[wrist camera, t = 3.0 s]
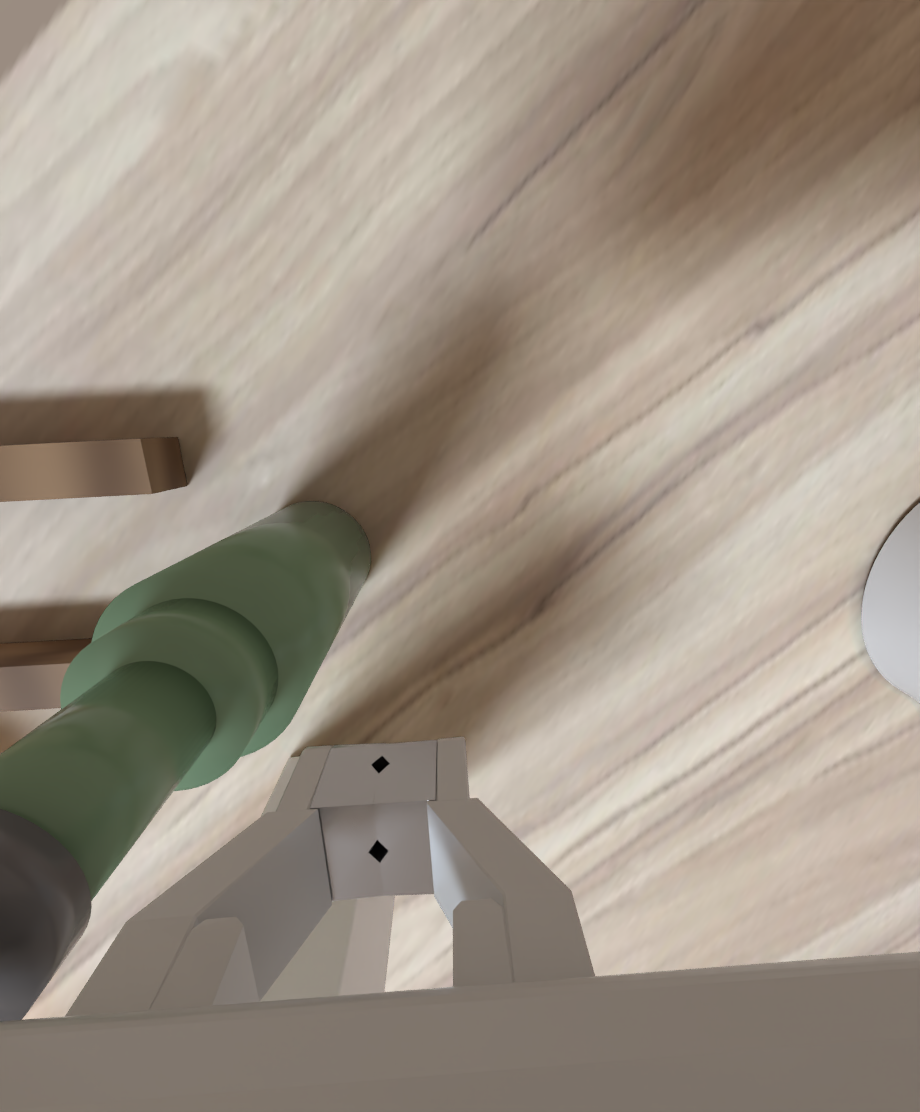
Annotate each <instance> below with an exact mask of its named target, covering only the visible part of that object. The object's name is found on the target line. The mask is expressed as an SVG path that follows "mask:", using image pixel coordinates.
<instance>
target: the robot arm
mask: <svg viewBox="0 0 920 1112" xmlns="http://www.w3.org/2000/svg"><path fill="white" fill-rule="evenodd" d="M861 622H862V632H863V638H864V642H865V646H866V649H867V651H868V654H869V656H870V658H871V660H872V662H873V663H874V665H875V667H876V668H877V670H878V671H879V672H880V673H881V675H882V676H883V677H884V678H885V679H886V680H887V681H888V682H890V683H891V684H892V685H893V686H895V687H896V688H897V689H899V690H901V691H902V692H904V693H906V694H907V695H909V696H911V697H912V698H914V699H915V700H916V701H918V702H919V703H920V503H919V504H918V505H916V506H915V507H914V508H913V509H912V510H911V511H910V512H909V513H908V514H907V515H906V516H905V517H904V519H903V520H902V521H901V522H900V523H899V524H898V526H897V527H896V528H895V530H894V531H893V532H892V533H891V535H890V536H889V538H888V539H887V541H886V542H885V544H884V545H883V547H882V549H881V551H880V552H879V554H878V556H877V558H876V560H875V562H874V564H873V567H872V569H871V572H870V574H869V577H868V580H867V584H866V587H865V591H864V596H863V602H862V613H861ZM417 894H434V897H435V898H436V900H437V902H438V904H439V905H440V907H441V909H442V911H443V912H444V914H445V916H446V917H447V919H448V921H449V923H450V924H451V926H452V928H453V987H447V988H434V989H421V990H407V991H394V992H381V993H368V994H355V995H342V996H329V997H316V998H302V999H289V1000H276V1001H263V1002H260V1001H261V999H262V998H263V997H264V995H265V994H266V993H267V991H268V990H269V989H270V987H271V986H272V985H273V983H274V982H275V980H276V979H277V978H278V976H279V975H280V974H281V972H282V971H283V970H284V968H285V967H286V966H287V964H288V963H289V962H290V960H291V959H292V958H293V956H294V955H295V954H296V952H297V951H298V950H299V948H300V947H301V946H302V944H303V943H304V942H305V940H306V939H307V938H308V936H309V935H310V934H311V932H312V931H313V930H314V928H315V927H316V926H317V924H318V923H319V922H320V920H321V919H322V917H323V916H324V915H325V913H326V912H327V911H328V909H329V908H330V907H331V905H332V901H338V900H348V899H358V898H367V897H377V896H393V895H417ZM0 1112H920V952H909V953H896V954H882V955H869V956H856V957H843V958H830V959H817V960H804V961H790V962H777V963H764V964H751V965H738V966H725V967H711V968H698V969H685V970H672V971H659V972H646V973H634V974H621V975H608V976H595V974H594V970H593V967H592V963H591V960H590V956H589V952H588V949H587V945H586V942H585V938H584V935H583V931H582V927H581V924H580V920H579V917H578V913H577V909H576V906H575V902H574V899H573V895H572V892H571V890H570V889H569V888H568V887H567V886H566V885H565V884H564V883H563V882H562V881H561V880H560V879H559V878H558V877H557V876H556V875H555V874H554V873H553V872H552V871H551V870H550V869H549V868H548V867H547V866H546V865H545V864H544V863H543V862H542V861H541V860H540V859H539V858H538V857H537V856H536V855H535V854H534V853H533V852H532V851H531V850H530V849H529V848H528V847H527V846H526V845H525V844H524V843H522V842H521V841H520V840H519V839H518V838H517V837H516V836H515V835H514V834H513V833H512V832H511V831H510V830H509V829H508V828H507V827H506V826H505V825H504V824H503V823H502V822H501V821H500V820H499V819H498V818H497V817H496V816H495V815H494V814H493V813H492V812H491V811H490V810H489V809H488V808H487V807H486V806H485V805H484V804H483V803H482V802H481V801H480V800H479V799H478V798H469V784H468V771H467V757H466V744H465V738H464V737H463V736H462V737H452V738H442V739H438V740H426V741H413V742H400V743H387V744H386V743H374V744H350V745H334V746H331V745H329V746H313V747H307V748H305V749H304V750H303V751H302V753H301V755H300V757H299V760H298V762H297V764H296V766H295V769H294V771H293V773H292V775H291V778H290V780H289V782H288V784H287V787H286V789H285V791H284V793H283V796H282V798H281V800H280V803H279V805H278V807H277V809H276V812H267V813H266V814H264V815H263V816H262V817H260V818H259V819H258V820H257V821H255V822H254V823H253V824H251V825H250V826H249V827H248V828H246V829H245V830H244V831H242V832H241V833H240V834H239V835H237V836H236V837H235V838H233V839H232V840H231V841H230V842H228V843H227V844H226V845H224V846H223V847H222V848H220V849H219V850H218V851H217V852H215V853H214V854H213V855H211V856H210V857H209V858H208V859H206V860H205V861H204V862H202V863H201V864H200V865H199V866H197V867H196V868H195V869H193V870H192V871H191V872H190V873H188V874H187V875H186V876H184V877H183V878H182V879H181V880H179V881H178V882H177V883H175V884H174V885H173V886H172V887H170V888H169V889H168V890H166V891H165V892H164V893H163V894H161V895H160V896H159V897H157V898H156V899H155V900H154V901H152V902H151V903H150V904H148V905H147V906H146V907H145V908H143V909H142V910H141V911H139V912H138V913H137V914H136V915H134V916H133V917H132V918H130V919H129V920H128V921H127V922H126V923H125V925H124V926H123V928H122V929H121V931H120V932H119V934H118V935H117V937H116V938H115V940H114V942H113V943H112V945H111V946H110V948H109V949H108V951H107V952H106V954H105V955H104V957H103V958H102V960H101V962H100V963H99V965H98V966H97V968H96V969H95V971H94V972H93V974H92V975H91V977H90V979H89V980H88V982H87V983H86V985H85V986H84V988H83V989H82V991H81V992H80V994H79V996H78V997H77V999H76V1000H75V1002H74V1003H73V1005H72V1006H71V1008H70V1009H69V1011H68V1013H67V1014H66V1016H65V1017H53V1018H40V1019H27V1020H14V1021H0Z"/></svg>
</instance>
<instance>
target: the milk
mask: <svg viewBox="0 0 920 1112" xmlns="http://www.w3.org/2000/svg"><path fill="white" fill-rule="evenodd" d="M299 757H300V756H298V757H291V758H289V759H288V761H287V763H286V765H285V767H284V769H283V771H282V773H281V775H280V778H279V780H278V782H277V784H276V786H275V788H274V790H273V792H272V794H271V796H270V799H269V801H268V803H267V805H266V807H265V809H264V811H263V813H262V815H261V817H262V816H263V815H264V814H266V813H267V812H276V809H277V807H278V805H279V803H280V800H281V798H282V796H283V793H284V791H285V789H286V787H287V784H288V782H289V780H290V778H291V775H292V773H293V771H294V769H295V766H296V764H297V762H298V760H299ZM394 900H395V895H393V896H377V897H367V898H358V899H348V900H338V901H332V905H331V907H330V908H329V909H328V911H327V912H326V913H325V915H324V916H323V917H322V919H321V920H320V922H319V923H318V924H317V926H316V927H315V928H314V930H313V931H312V932H311V934H310V935H309V936H308V938H307V939H306V940H305V942H304V943H303V944H302V946H301V947H300V948H299V950H298V951H297V952H296V954H295V955H294V956H293V958H292V959H291V960H290V962H289V963H288V964H287V966H286V967H285V968H284V970H283V971H282V972H281V974H280V975H279V976H278V978H277V979H276V980H275V982H274V983H273V985H272V986H271V987H270V989H269V990H268V991H267V993H266V994H265V995H264V997H263V998H262V999H261V1001H260V1002H263V1001H276V1000H289V999H302V998H316V997H329V996H342V995H355V994H368V993H381V992H384V991H385V981H386V972H387V963H388V954H389V945H390V936H391V927H392V918H393V909H394Z"/></svg>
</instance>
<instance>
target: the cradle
mask: <svg viewBox="0 0 920 1112" xmlns="http://www.w3.org/2000/svg"><path fill="white" fill-rule="evenodd" d="M185 486H187V482H186V477H185V472H184V467H183V462H182V457H181V451H180V446H179V441H178V437H170V438H142V439H122V440H103V441H83V442H64V443H44V444H25V445H5V446H0V502H7V501H26V500H44V499H63V498H82V497H101V496H120V495H139V494H153V493H158V492H162V491H167V490H171V489H176V488H180V487H185ZM91 641H92V639H74V640H56V641H39V642H21V643H4V644H0V712H1V711H18V710H35V709H52V708H61V702H60V694H61V686H62V682H63V678H64V675H65V673H66V671H67V668H68V667H69V665H70V664H71V662H72V661H73V659H74V658H75V657H76V656H77V655H78V653H79V652H80V651H81V650H83V649H84V648H85V647H86V646H88V645H89V644H90V643H91Z"/></svg>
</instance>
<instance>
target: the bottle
mask: <svg viewBox="0 0 920 1112" xmlns="http://www.w3.org/2000/svg"><path fill="white" fill-rule="evenodd" d="M370 563H371V551H370V545H369V542H368V539H367V537H366V535H365V532H364V531H363V529H362V528H361V526H360V525H359V524H358V522H357V521H356V520H355V519H354V518H353V517H352V516H351V515H349V514H348V513H347V512H345V511H344V510H342V509H340V508H339V507H336V506H334V505H332V504H328V503H325V502H318V501H305V502H299V503H295V504H293V505H290V506H288V507H286V508H284V509H282V510H280V511H278V512H276V513H274V514H272V515H270V516H268V517H266V518H264V519H262V520H260V521H258V522H256V523H254V524H252V525H250V526H248V527H247V528H245V529H243V530H241V531H239V532H237V533H235V534H233V535H231V536H229V537H227V538H225V539H223V540H221V541H219V542H217V543H215V544H213V545H211V546H209V547H207V548H205V549H203V550H201V551H199V552H197V553H195V554H194V555H192V556H190V557H188V558H186V559H184V560H182V561H180V562H178V563H176V564H174V565H172V566H170V567H168V568H166V569H164V570H162V571H160V572H158V573H156V574H154V575H152V576H150V577H148V578H146V579H144V580H142V581H141V582H139V583H137V584H135V585H133V586H131V587H130V588H128V589H126V590H125V591H123V592H122V593H121V594H120V595H118V596H117V597H116V598H115V599H114V600H113V601H112V602H111V603H110V604H109V605H108V607H107V608H106V609H105V611H104V612H103V614H102V615H101V617H100V618H99V621H98V623H97V625H96V627H95V630H94V634H93V638H92V641H91V643H90V644H89V645H88V646H86V647H85V648H84V649H83V650H81V651H80V652H79V653H78V655H77V656H76V657H75V658H74V659H73V661H72V662H71V664H70V665H69V667H68V668H67V671H66V673H65V675H64V678H63V682H62V686H61V694H60V702H61V710H60V711H59V712H57V713H56V714H55V715H53V716H52V717H50V718H49V719H48V720H46V721H45V722H44V723H42V724H41V725H40V726H38V727H37V728H36V729H34V730H33V731H31V732H30V733H29V734H27V735H26V736H25V737H23V738H22V739H21V740H19V741H18V742H17V743H15V744H14V745H12V746H11V747H10V748H8V749H7V750H6V751H4V752H3V753H2V754H0V1021H14V1020H22V1018H23V1017H24V1016H25V1015H26V1013H27V1012H28V1011H29V1009H30V1008H31V1006H32V1005H33V1004H34V1002H35V1001H36V999H37V998H38V997H39V995H40V994H41V992H42V991H43V990H44V988H45V987H46V985H47V984H48V983H49V981H50V980H51V978H52V977H53V976H54V974H55V973H56V971H57V970H58V969H59V967H60V966H61V964H62V963H63V962H64V960H65V959H66V957H67V956H68V955H69V953H70V952H71V950H72V949H73V948H74V946H75V945H76V943H77V942H78V941H79V939H80V938H81V936H82V935H83V933H84V931H85V929H86V927H87V925H88V922H89V919H90V914H91V901H92V900H93V898H94V897H95V896H96V894H97V893H98V891H99V890H100V889H101V887H102V886H103V885H104V883H105V882H106V881H107V879H108V878H109V877H110V875H111V874H112V873H113V871H114V870H115V869H116V867H117V866H118V865H119V863H120V862H121V861H122V859H123V858H124V857H125V855H126V854H127V853H128V851H129V850H130V849H131V847H132V846H133V845H134V843H135V842H136V841H137V839H138V838H139V837H140V835H141V834H142V833H143V831H144V830H145V829H146V827H147V826H148V825H149V823H150V822H151V820H152V819H153V818H154V816H155V815H156V814H157V812H158V811H159V810H160V808H161V807H162V806H163V804H164V803H165V802H166V800H167V799H168V798H169V796H170V795H171V794H172V792H173V791H179V790H187V789H192V788H196V787H199V786H202V785H205V784H208V783H210V782H212V781H213V780H215V779H217V778H219V777H220V776H222V775H223V774H224V773H226V772H227V771H228V770H229V769H230V768H231V767H232V766H233V765H234V764H235V763H236V762H237V760H238V759H239V758H240V757H242V756H245V755H248V754H250V753H253V752H255V751H257V750H259V749H261V748H263V747H265V746H266V745H268V744H269V743H270V742H272V741H273V740H275V739H276V738H277V737H278V736H279V735H280V734H281V733H282V732H283V731H284V730H285V729H286V727H287V726H288V725H289V724H290V722H291V720H292V719H293V717H294V715H295V714H296V712H297V710H298V708H299V706H300V704H301V702H302V700H303V698H304V696H305V695H306V693H307V691H308V689H309V687H310V685H311V683H312V681H313V679H314V677H315V675H316V674H317V672H318V670H319V668H320V666H321V664H322V662H323V660H324V658H325V656H326V654H327V652H328V651H329V649H330V647H331V645H332V643H333V641H334V639H335V637H336V635H337V633H338V631H339V630H340V628H341V626H342V624H343V622H344V620H345V618H346V616H347V614H348V612H349V610H350V609H351V607H352V605H353V603H354V601H355V599H356V597H357V595H358V593H359V591H360V589H361V588H362V586H363V584H364V582H365V580H366V578H367V575H368V573H369V569H370Z"/></svg>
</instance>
